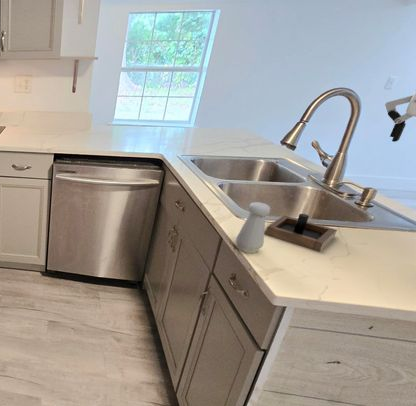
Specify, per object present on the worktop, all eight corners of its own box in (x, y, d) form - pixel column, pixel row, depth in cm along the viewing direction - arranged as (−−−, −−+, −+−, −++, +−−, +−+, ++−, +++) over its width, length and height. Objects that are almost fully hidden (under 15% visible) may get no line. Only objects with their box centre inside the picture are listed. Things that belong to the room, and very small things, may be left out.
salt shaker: (251, 243, 98) (264, 199, 93) (266, 254, 93) (281, 208, 88) (229, 243, 99) (241, 199, 94) (242, 255, 93) (256, 209, 88)
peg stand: (320, 236, 101) (328, 216, 98) (310, 245, 97) (318, 224, 94) (285, 226, 107) (291, 206, 105) (274, 234, 103) (280, 214, 100)
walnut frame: (333, 237, 100) (337, 229, 99) (319, 251, 94) (322, 243, 93) (281, 222, 109) (283, 215, 108) (264, 234, 103) (267, 226, 102)
